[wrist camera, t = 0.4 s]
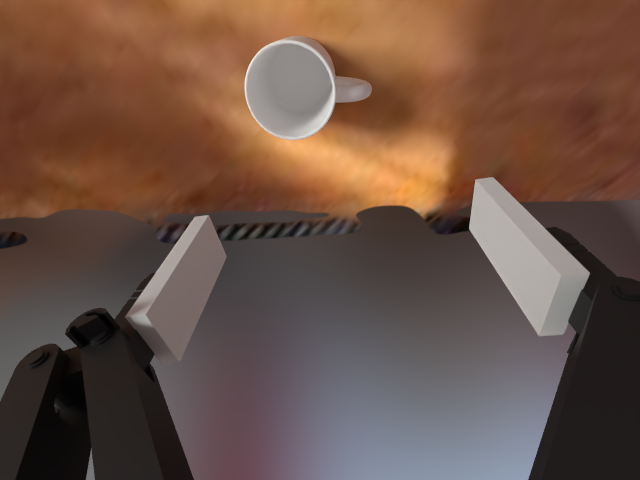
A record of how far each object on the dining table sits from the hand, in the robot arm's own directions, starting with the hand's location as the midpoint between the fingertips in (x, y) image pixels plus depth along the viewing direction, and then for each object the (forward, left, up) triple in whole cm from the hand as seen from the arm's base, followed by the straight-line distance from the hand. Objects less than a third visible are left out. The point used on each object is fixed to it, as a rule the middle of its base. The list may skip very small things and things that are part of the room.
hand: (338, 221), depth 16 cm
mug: (-3, -2, -27) cm, 28 cm away
